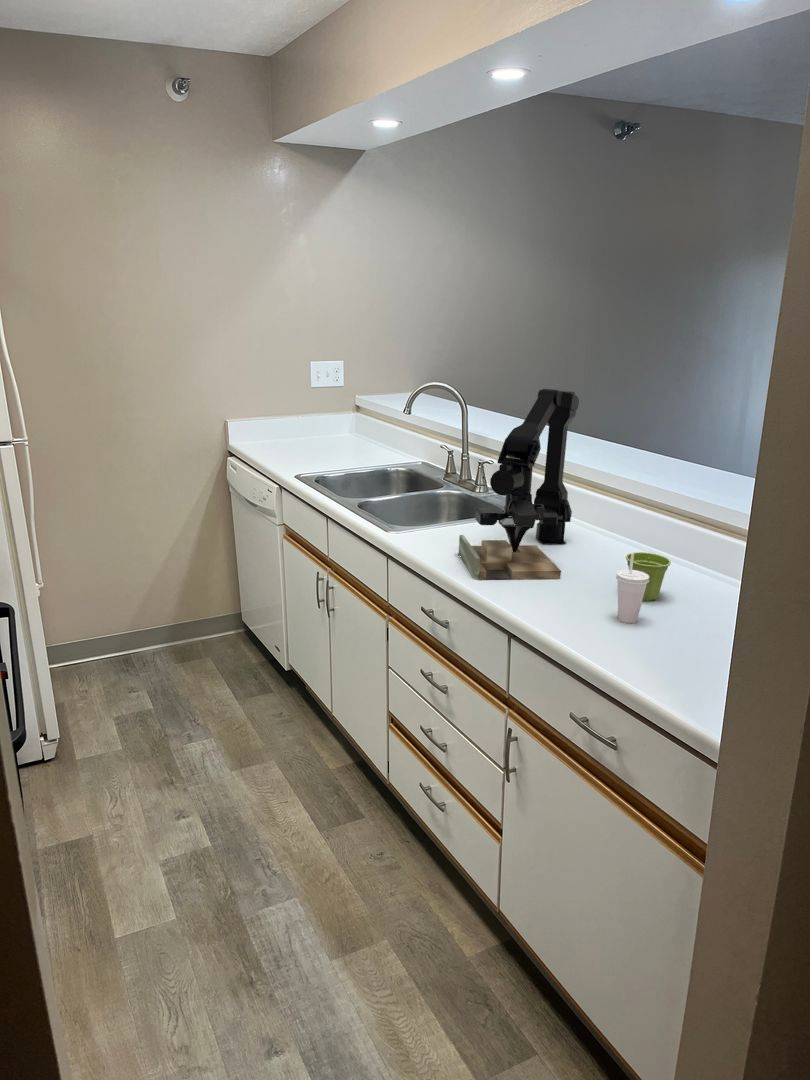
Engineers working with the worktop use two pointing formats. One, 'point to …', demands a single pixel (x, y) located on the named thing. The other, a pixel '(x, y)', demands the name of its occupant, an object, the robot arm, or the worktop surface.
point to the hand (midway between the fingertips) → (514, 551)
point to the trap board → (508, 564)
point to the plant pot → (650, 571)
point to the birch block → (496, 551)
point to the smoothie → (630, 593)
